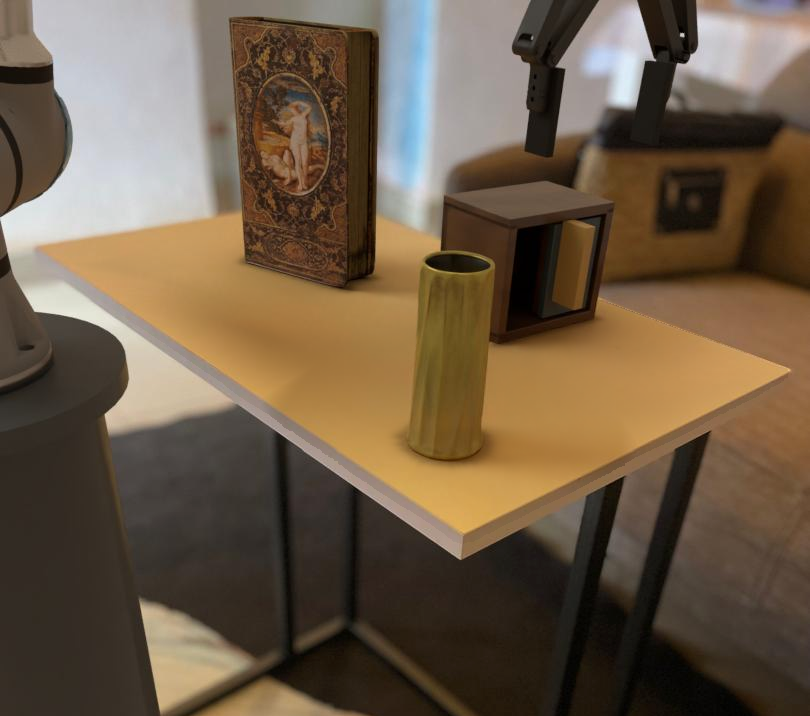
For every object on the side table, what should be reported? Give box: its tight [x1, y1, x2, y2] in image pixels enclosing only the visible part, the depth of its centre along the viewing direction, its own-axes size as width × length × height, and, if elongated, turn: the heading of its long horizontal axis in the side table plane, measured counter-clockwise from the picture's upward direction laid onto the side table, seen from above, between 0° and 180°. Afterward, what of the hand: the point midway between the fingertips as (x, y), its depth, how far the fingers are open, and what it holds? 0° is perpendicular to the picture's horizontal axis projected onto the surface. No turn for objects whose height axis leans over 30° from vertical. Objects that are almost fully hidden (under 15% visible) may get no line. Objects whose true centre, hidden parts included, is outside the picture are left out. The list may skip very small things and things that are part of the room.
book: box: [228, 16, 380, 288], centre depth 92 cm, size 16×6×25 cm, turn 57°
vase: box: [405, 250, 495, 461], centre depth 62 cm, size 6×6×14 cm
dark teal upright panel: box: [537, 215, 601, 318], centre depth 84 cm, size 4×6×10 cm, turn 126°
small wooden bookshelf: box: [439, 180, 616, 344], centre depth 87 cm, size 10×14×12 cm
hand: (593, 148), depth 74 cm, fingers open, 13 cm apart
